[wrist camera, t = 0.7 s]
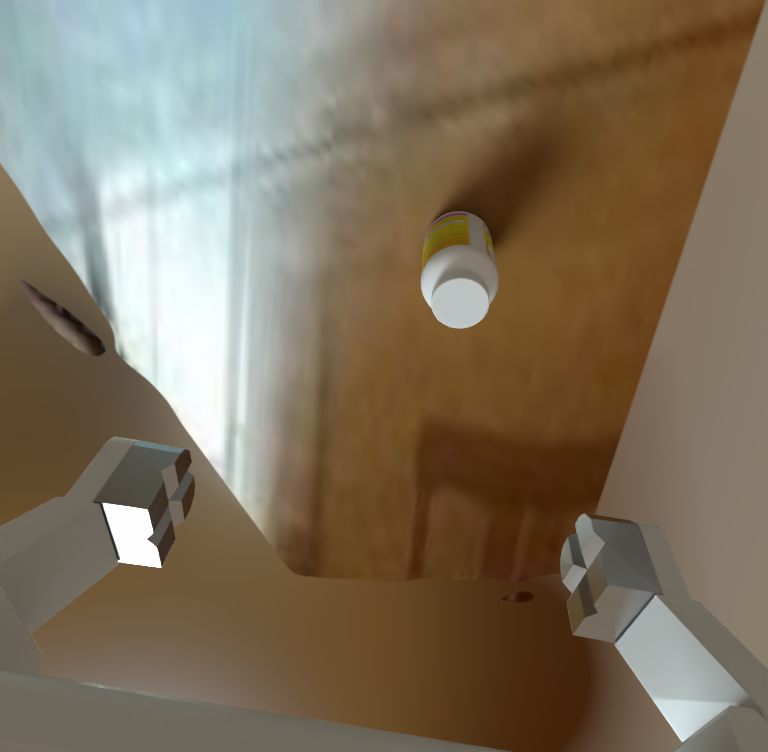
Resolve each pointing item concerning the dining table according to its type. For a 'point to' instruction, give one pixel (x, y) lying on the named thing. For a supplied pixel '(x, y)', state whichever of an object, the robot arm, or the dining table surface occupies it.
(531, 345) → the dining table surface
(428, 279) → the supplement bottle
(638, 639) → the robot arm
